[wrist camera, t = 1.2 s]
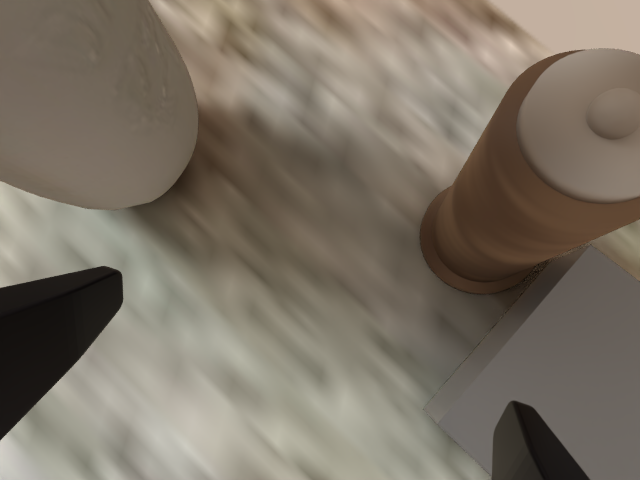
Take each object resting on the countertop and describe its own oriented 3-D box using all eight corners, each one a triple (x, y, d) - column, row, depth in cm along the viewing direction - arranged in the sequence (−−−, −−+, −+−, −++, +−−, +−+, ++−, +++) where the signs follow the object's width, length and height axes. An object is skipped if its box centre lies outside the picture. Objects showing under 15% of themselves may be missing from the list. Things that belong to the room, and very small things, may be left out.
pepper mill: (560, 248, 22) (840, 116, 9) (471, 317, 22) (632, 282, 9) (481, 164, 24) (628, -50, 11) (397, 228, 23) (442, 86, 10)
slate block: (732, 404, 20) (823, 420, 16) (599, 578, 19) (662, 640, 15) (550, 261, 22) (590, 244, 18) (423, 408, 21) (437, 424, 17)
